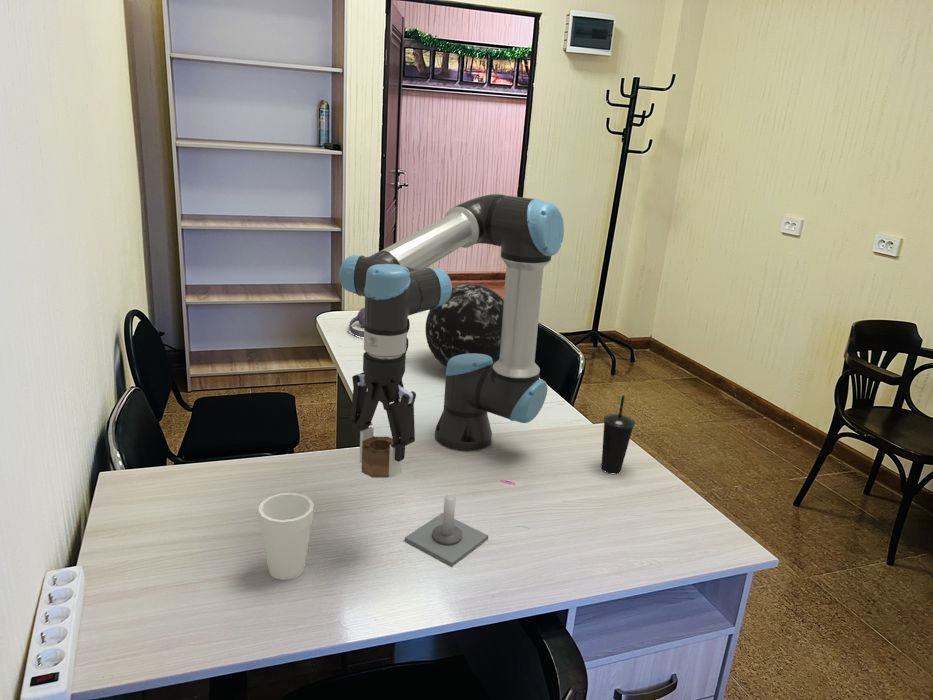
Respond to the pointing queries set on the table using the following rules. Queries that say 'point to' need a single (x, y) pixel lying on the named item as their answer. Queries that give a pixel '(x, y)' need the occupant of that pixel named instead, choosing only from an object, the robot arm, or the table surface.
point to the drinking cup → (616, 440)
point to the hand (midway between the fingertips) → (380, 467)
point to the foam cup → (286, 533)
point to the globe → (466, 324)
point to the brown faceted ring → (376, 456)
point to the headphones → (361, 319)
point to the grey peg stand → (447, 536)
